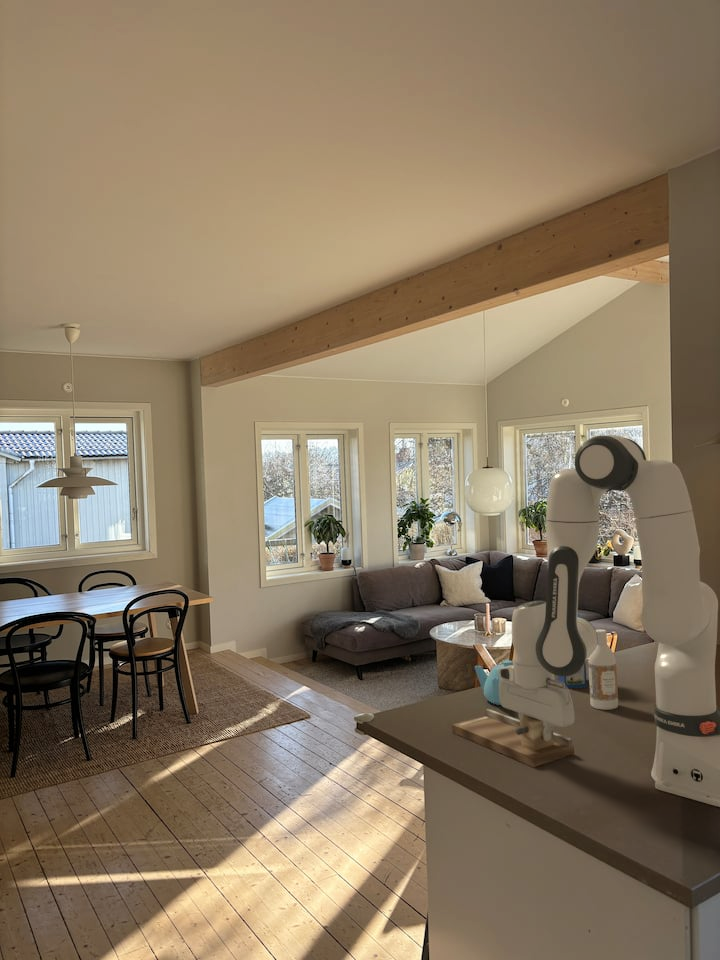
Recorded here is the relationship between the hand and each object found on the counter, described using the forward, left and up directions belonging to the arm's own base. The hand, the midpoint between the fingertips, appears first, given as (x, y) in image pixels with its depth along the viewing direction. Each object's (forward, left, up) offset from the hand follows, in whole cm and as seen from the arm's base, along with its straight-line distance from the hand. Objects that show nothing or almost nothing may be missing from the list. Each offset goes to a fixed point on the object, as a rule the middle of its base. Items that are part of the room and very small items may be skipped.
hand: (537, 736), depth 169 cm
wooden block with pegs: (0, 0, -2) cm, 2 cm away
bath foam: (+14, -37, -4) cm, 40 cm away
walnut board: (+9, 0, -4) cm, 10 cm away
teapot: (+34, -22, -4) cm, 41 cm away
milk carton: (+35, -47, -4) cm, 59 cm away
